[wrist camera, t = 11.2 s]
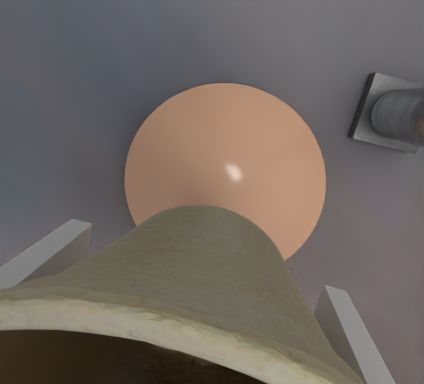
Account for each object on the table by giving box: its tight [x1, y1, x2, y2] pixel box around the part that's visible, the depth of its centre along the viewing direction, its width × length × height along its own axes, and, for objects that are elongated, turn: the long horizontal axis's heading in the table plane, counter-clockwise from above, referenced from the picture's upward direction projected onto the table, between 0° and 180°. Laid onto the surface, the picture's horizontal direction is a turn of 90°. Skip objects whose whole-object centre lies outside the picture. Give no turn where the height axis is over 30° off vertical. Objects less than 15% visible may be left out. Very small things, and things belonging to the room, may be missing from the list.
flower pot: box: [0, 205, 365, 384], centre depth 8 cm, size 9×9×9 cm
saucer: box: [124, 83, 326, 261], centre depth 26 cm, size 15×15×1 cm
